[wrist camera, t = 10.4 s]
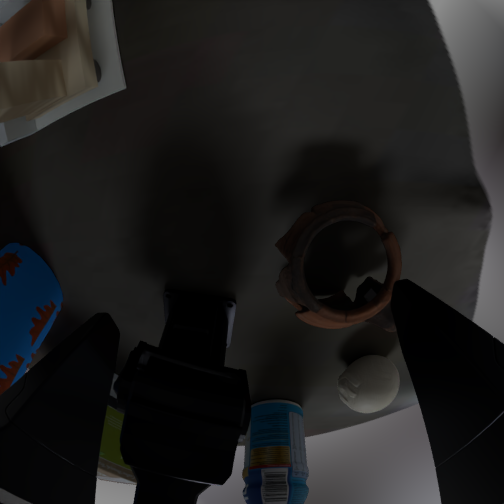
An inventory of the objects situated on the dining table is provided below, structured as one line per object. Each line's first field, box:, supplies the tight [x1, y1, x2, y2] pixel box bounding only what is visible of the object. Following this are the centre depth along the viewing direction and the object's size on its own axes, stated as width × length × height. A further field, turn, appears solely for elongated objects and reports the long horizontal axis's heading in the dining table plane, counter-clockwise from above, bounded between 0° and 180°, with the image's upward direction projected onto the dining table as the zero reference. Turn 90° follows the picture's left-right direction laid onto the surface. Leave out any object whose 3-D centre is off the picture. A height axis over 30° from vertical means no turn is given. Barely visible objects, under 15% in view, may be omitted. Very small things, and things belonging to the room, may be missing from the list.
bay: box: [0, 0, 126, 147], centre depth 11 cm, size 12×11×5 cm
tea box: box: [97, 373, 137, 485], centre depth 31 cm, size 15×10×15 cm, turn 128°
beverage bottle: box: [242, 399, 309, 504], centre depth 28 cm, size 8×8×20 cm
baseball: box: [337, 355, 400, 413], centre depth 27 cm, size 7×7×7 cm
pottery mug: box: [275, 200, 402, 332], centre depth 20 cm, size 12×10×8 cm
